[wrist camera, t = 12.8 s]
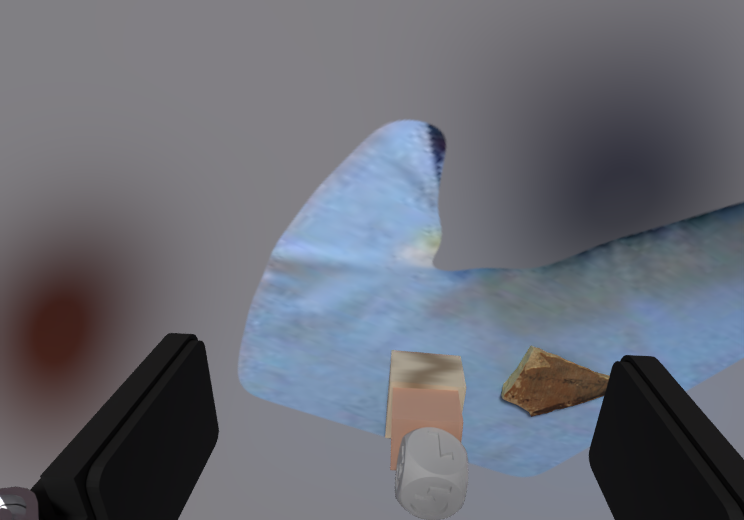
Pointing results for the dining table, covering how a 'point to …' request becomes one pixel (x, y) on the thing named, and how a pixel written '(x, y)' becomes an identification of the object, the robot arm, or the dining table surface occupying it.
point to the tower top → (423, 414)
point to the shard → (551, 383)
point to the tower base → (424, 375)
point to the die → (431, 473)
